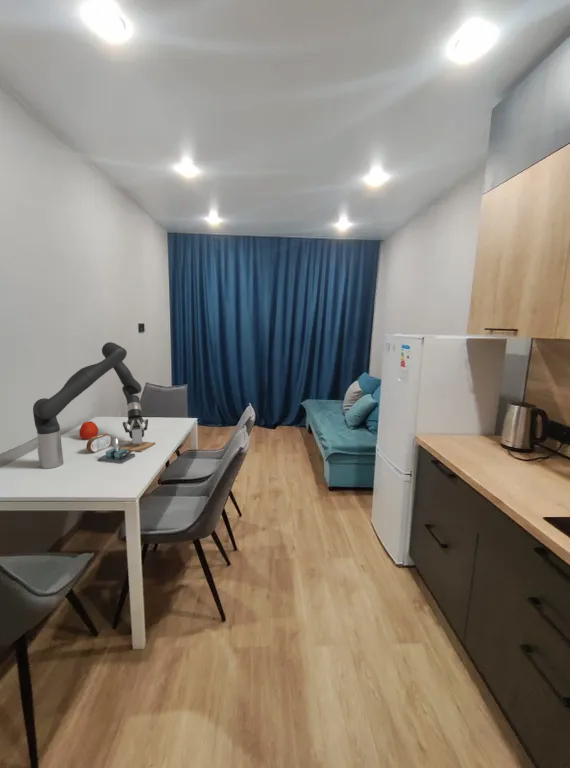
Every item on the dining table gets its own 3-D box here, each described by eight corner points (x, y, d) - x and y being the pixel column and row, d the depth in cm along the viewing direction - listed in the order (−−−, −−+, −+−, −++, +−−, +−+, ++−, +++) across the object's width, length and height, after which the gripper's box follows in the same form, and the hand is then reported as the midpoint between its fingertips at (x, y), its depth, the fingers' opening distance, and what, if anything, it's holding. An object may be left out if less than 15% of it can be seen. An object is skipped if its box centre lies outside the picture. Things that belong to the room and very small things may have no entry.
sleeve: (132, 443, 194) (131, 430, 193) (132, 441, 199) (131, 427, 197) (142, 442, 197) (141, 428, 195) (141, 439, 201) (140, 426, 200)
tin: (109, 445, 201) (108, 431, 200) (113, 446, 200) (112, 431, 199) (86, 454, 187) (85, 439, 186) (91, 454, 186) (89, 439, 185)
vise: (98, 461, 177) (96, 440, 176) (112, 454, 187) (110, 434, 185) (122, 463, 174) (120, 442, 172) (135, 456, 184) (133, 436, 182)
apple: (97, 439, 211) (96, 422, 209) (78, 441, 207) (76, 424, 206) (99, 434, 220) (98, 418, 219) (81, 436, 217) (79, 420, 215)
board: (118, 450, 193) (118, 448, 193) (134, 442, 206) (134, 440, 206) (140, 452, 190) (140, 450, 190) (155, 444, 203) (155, 442, 203)
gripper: (120, 409, 198) (123, 435, 190) (147, 407, 204) (151, 432, 196) (121, 416, 204) (123, 442, 195) (147, 413, 210) (150, 438, 201)
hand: (137, 437), depth 196 cm, fingers closed on sleeve, 5 cm apart
